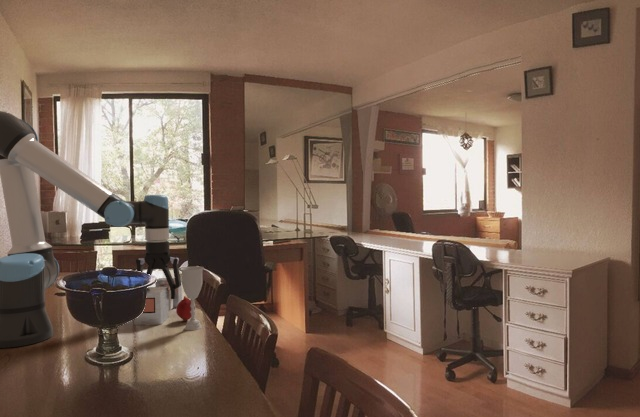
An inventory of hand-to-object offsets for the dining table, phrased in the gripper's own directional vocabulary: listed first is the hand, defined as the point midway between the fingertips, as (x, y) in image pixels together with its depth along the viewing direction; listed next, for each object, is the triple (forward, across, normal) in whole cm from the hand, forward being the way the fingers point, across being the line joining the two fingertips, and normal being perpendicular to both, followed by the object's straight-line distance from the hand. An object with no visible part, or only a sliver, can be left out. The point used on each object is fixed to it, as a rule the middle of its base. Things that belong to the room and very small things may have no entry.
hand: (158, 308), depth 146 cm
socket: (+2, 0, -12) cm, 12 cm away
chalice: (+2, -15, +16) cm, 22 cm away
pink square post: (-2, 0, +2) cm, 3 cm away
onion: (+2, -11, +8) cm, 14 cm away
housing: (+2, 0, +7) cm, 7 cm away
